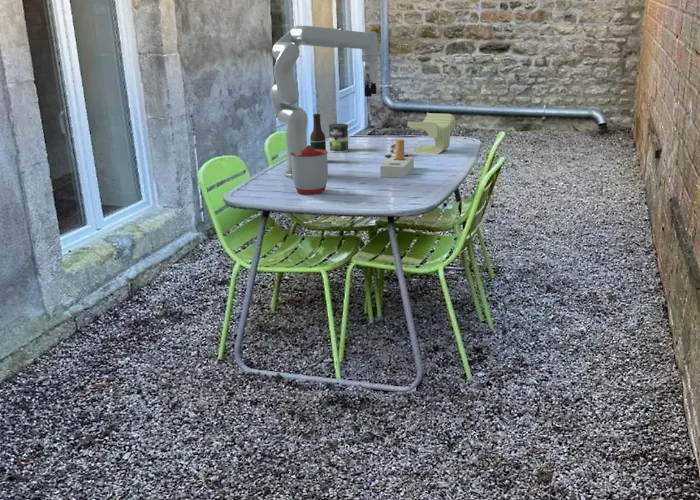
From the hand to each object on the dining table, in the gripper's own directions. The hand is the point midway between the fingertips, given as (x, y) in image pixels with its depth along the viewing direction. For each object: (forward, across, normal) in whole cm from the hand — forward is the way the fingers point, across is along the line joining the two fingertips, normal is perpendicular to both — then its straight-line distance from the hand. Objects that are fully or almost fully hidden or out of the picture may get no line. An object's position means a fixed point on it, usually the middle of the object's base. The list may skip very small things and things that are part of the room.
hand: (370, 95), depth 348 cm
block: (+33, -18, -17) cm, 41 cm away
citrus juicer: (+34, -60, +12) cm, 70 cm away
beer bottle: (+34, 0, +28) cm, 44 cm away
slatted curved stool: (+34, +34, -24) cm, 53 cm away
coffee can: (+34, +29, +26) cm, 51 cm away
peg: (+33, -12, -17) cm, 39 cm away
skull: (+34, +19, -8) cm, 39 cm away
